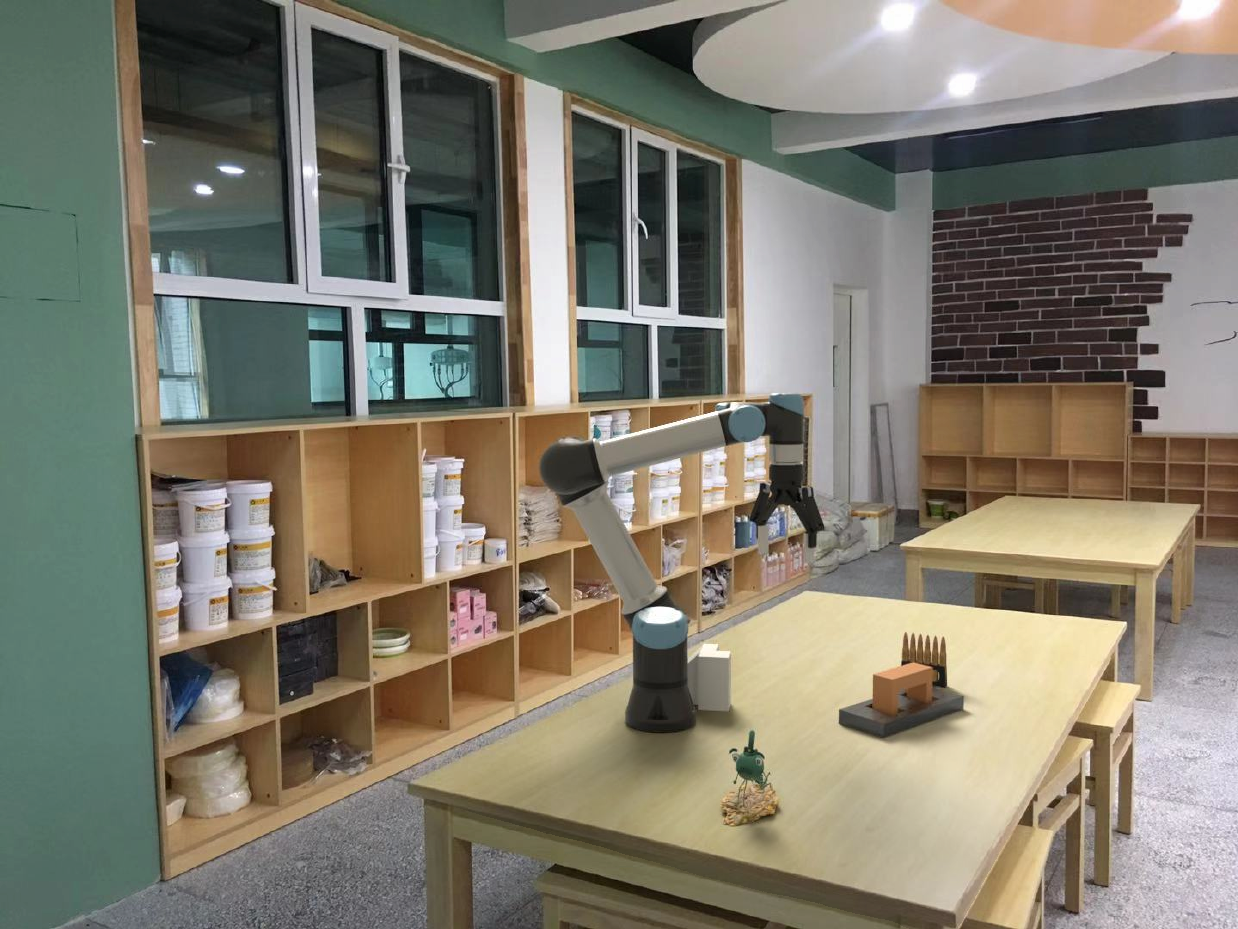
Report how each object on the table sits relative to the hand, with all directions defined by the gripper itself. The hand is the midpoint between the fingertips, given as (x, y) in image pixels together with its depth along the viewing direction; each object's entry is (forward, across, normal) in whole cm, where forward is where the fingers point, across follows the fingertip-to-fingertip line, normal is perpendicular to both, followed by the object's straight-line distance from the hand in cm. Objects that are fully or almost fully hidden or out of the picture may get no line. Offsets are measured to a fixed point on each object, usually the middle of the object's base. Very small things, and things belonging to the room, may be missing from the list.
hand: (785, 558), depth 232 cm
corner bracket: (+33, +11, +14) cm, 37 cm away
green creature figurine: (+33, -35, +46) cm, 67 cm away
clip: (+33, -23, -12) cm, 42 cm away
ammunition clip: (+33, -12, -35) cm, 50 cm away
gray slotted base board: (+33, -23, -12) cm, 42 cm away
